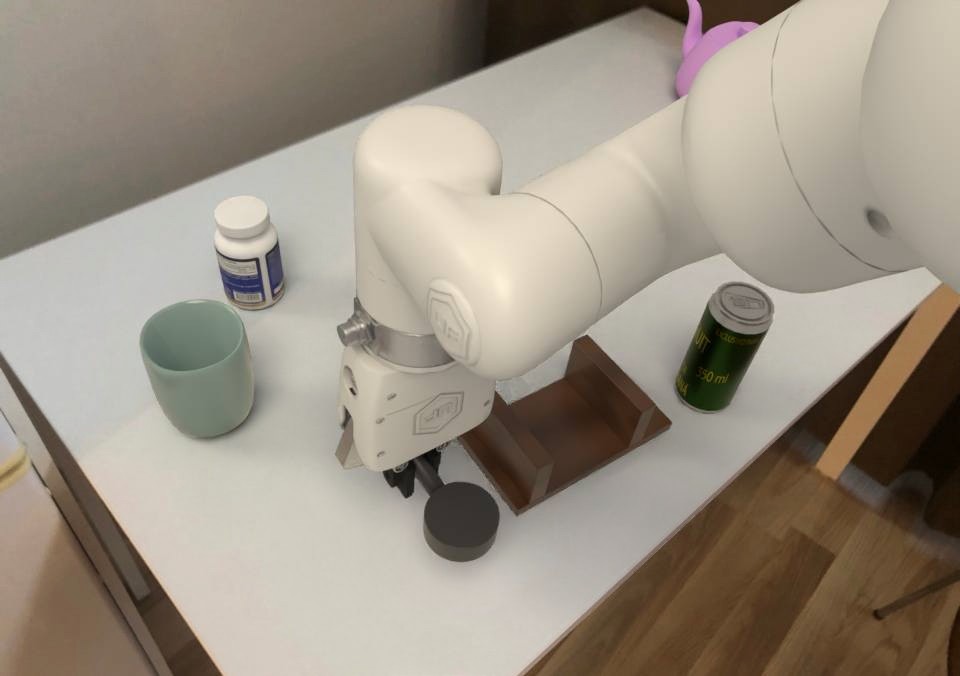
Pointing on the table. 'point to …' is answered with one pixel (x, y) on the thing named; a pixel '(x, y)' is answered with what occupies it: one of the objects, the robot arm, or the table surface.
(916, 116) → the robot arm
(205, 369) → the cup
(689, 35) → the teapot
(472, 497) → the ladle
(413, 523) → the table surface
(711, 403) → the beer can
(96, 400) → the table surface
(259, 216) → the pill bottle
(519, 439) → the rack
